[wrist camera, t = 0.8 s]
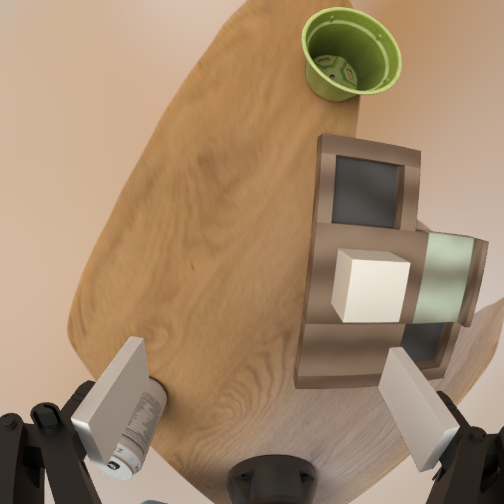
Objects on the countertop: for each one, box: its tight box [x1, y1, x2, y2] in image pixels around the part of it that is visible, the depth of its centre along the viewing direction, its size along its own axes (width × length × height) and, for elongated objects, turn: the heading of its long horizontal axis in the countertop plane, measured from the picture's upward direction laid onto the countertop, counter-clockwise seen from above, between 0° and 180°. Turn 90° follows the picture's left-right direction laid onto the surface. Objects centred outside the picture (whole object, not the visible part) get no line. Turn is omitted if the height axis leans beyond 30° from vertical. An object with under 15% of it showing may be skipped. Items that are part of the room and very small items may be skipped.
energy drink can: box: [93, 378, 167, 480], centre depth 30 cm, size 6×6×15 cm
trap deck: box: [294, 134, 489, 389], centre depth 31 cm, size 29×22×4 cm
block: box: [331, 248, 410, 322], centre depth 29 cm, size 6×6×5 cm
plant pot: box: [302, 7, 402, 102], centre depth 25 cm, size 9×9×9 cm
